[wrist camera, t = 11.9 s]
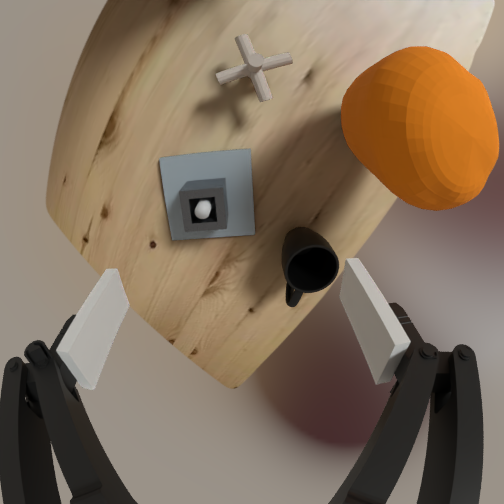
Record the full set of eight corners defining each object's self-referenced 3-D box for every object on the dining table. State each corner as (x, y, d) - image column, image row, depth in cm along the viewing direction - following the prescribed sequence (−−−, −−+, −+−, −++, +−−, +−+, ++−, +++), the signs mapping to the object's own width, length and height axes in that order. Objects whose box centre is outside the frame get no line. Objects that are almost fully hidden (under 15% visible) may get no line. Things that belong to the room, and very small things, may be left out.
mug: (261, 271, 50) (265, 304, 42) (288, 212, 45) (299, 236, 37) (301, 283, 52) (312, 316, 43) (330, 228, 47) (349, 255, 38)
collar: (186, 181, 41) (178, 191, 35) (225, 177, 41) (223, 187, 36) (191, 217, 44) (184, 232, 38) (228, 214, 44) (226, 229, 38)
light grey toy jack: (232, 112, 37) (229, 111, 28) (209, 56, 33) (200, 39, 24) (295, 93, 36) (311, 86, 27) (273, 37, 31) (282, 15, 22)
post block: (160, 157, 40) (144, 166, 33) (250, 148, 40) (252, 155, 33) (173, 237, 46) (162, 261, 39) (254, 232, 46) (257, 255, 39)
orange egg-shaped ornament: (416, 101, 36) (529, 116, 13) (383, 184, 43) (480, 252, 21) (331, 51, 32) (423, 2, 10) (294, 144, 40) (359, 182, 18)
